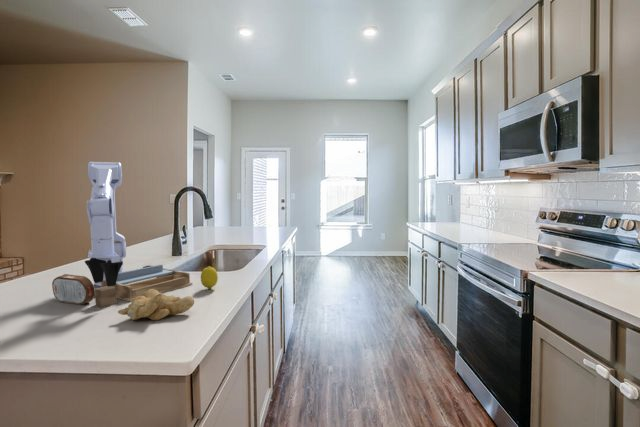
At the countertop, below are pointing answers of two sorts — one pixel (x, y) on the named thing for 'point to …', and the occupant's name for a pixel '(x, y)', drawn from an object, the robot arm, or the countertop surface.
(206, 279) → the lemon
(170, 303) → the ginger root
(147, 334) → the countertop surface
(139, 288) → the wooden tray
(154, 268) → the lid
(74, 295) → the tin
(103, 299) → the block
